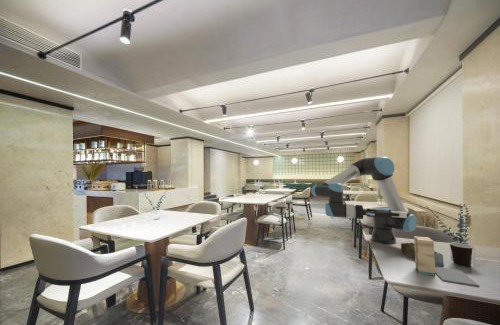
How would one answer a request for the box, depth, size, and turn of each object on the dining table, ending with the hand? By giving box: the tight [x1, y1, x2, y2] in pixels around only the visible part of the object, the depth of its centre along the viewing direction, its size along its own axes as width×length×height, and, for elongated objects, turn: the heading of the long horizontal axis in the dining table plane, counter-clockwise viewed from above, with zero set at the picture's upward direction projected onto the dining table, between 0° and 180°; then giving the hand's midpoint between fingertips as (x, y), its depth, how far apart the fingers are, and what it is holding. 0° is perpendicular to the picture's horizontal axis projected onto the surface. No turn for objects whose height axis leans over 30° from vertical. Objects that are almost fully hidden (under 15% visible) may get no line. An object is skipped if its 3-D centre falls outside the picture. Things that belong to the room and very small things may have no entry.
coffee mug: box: [449, 242, 474, 268], centre depth 112 cm, size 12×9×10 cm
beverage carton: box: [400, 242, 444, 267], centre depth 119 cm, size 8×19×7 cm, turn 6°
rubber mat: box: [435, 266, 480, 288], centre depth 98 cm, size 16×12×1 cm
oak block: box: [413, 236, 436, 276], centre depth 103 cm, size 6×6×16 cm
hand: (406, 215), depth 106 cm, fingers closed
